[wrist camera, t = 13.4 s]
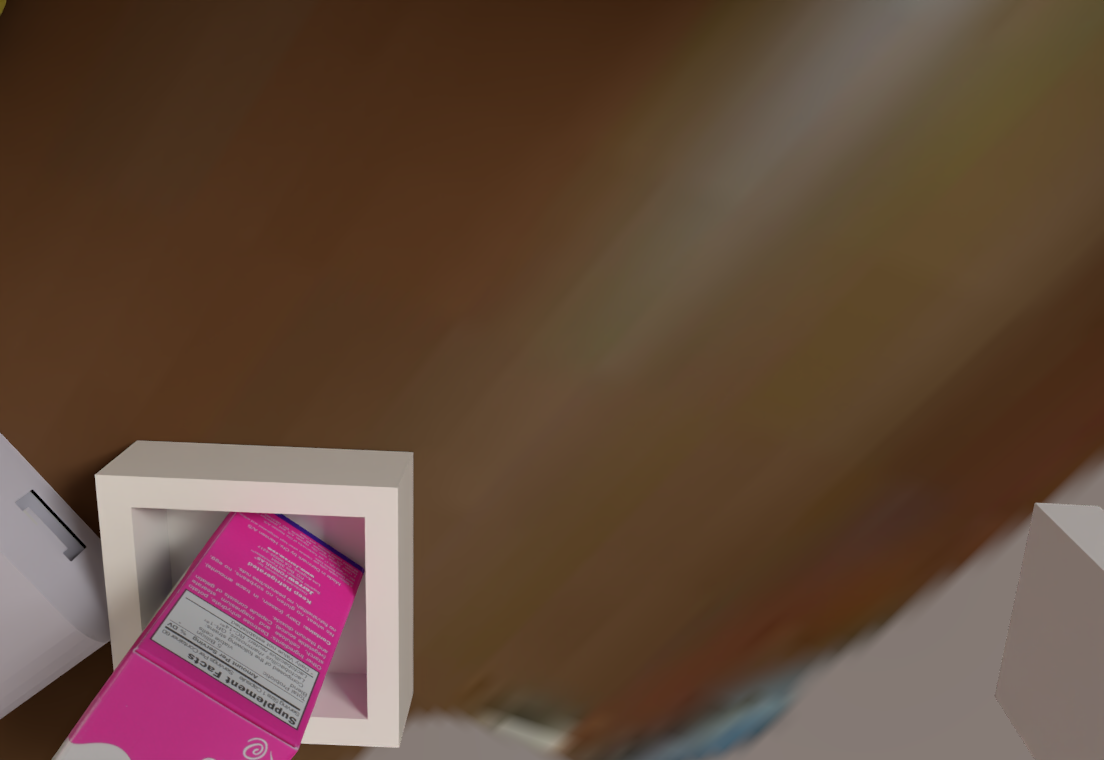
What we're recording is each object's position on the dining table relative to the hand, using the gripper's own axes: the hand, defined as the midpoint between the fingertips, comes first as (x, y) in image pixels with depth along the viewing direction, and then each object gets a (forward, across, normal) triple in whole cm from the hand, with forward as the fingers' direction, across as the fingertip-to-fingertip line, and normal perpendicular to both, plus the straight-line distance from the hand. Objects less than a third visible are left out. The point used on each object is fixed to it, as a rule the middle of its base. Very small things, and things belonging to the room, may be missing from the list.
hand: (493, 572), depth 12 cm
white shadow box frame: (+24, -11, -14) cm, 30 cm away
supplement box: (+24, -11, -14) cm, 30 cm away
